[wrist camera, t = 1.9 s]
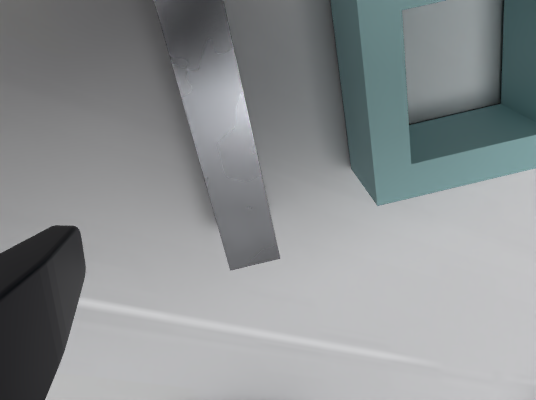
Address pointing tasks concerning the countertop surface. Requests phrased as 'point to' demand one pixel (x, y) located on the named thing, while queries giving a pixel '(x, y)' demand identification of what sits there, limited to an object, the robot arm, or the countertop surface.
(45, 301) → the robot arm
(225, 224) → the bar
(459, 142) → the teal square frame
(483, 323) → the countertop surface
